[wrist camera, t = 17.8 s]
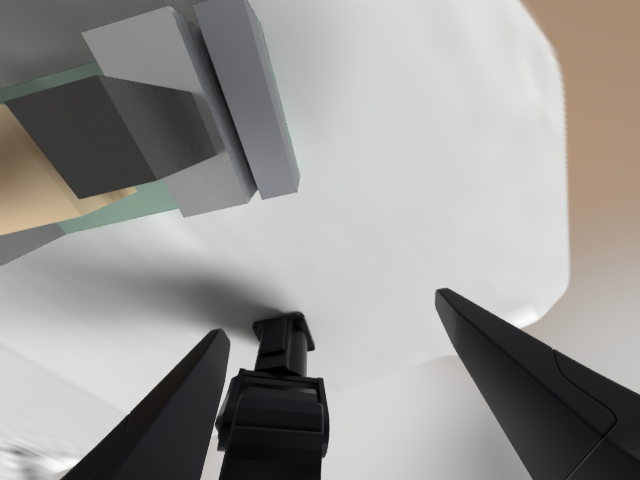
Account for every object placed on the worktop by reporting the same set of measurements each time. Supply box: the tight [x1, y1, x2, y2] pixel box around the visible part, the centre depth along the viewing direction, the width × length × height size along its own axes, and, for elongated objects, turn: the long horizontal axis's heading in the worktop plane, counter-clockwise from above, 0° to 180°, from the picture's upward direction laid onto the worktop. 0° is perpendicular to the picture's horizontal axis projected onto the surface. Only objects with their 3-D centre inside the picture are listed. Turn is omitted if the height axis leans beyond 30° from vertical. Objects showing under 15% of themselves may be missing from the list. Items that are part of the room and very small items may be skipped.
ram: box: [4, 6, 258, 217], centre depth 11 cm, size 9×4×10 cm, turn 12°
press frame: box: [0, 0, 300, 266], centre depth 14 cm, size 10×24×8 cm, turn 102°
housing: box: [0, 104, 137, 235], centre depth 15 cm, size 6×8×5 cm
